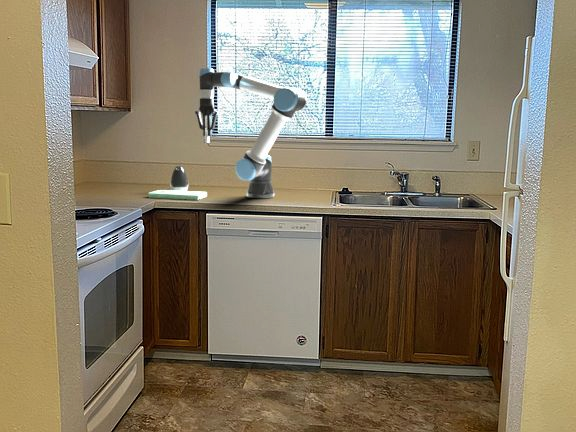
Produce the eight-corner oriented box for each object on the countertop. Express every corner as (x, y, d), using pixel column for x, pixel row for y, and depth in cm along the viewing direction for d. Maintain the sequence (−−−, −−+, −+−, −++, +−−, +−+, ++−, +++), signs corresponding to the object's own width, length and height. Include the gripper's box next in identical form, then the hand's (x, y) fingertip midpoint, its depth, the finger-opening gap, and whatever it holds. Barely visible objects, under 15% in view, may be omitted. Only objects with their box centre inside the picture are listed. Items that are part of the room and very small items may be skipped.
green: (206, 196, 324) (206, 191, 324) (197, 200, 311) (197, 195, 310) (159, 194, 330) (159, 189, 329) (148, 197, 316) (148, 193, 316)
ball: (162, 192, 323) (165, 197, 323) (160, 192, 320) (163, 197, 320) (167, 188, 322) (170, 194, 322) (165, 189, 319) (168, 194, 319)
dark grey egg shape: (167, 193, 334) (166, 166, 331) (175, 190, 344) (174, 164, 341) (184, 194, 331) (183, 167, 329) (191, 191, 341) (191, 165, 339)
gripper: (220, 98, 318) (220, 142, 322) (197, 98, 321) (198, 141, 325) (216, 98, 311) (216, 143, 315) (192, 97, 313) (193, 142, 317)
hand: (207, 142), depth 320 cm, fingers closed
